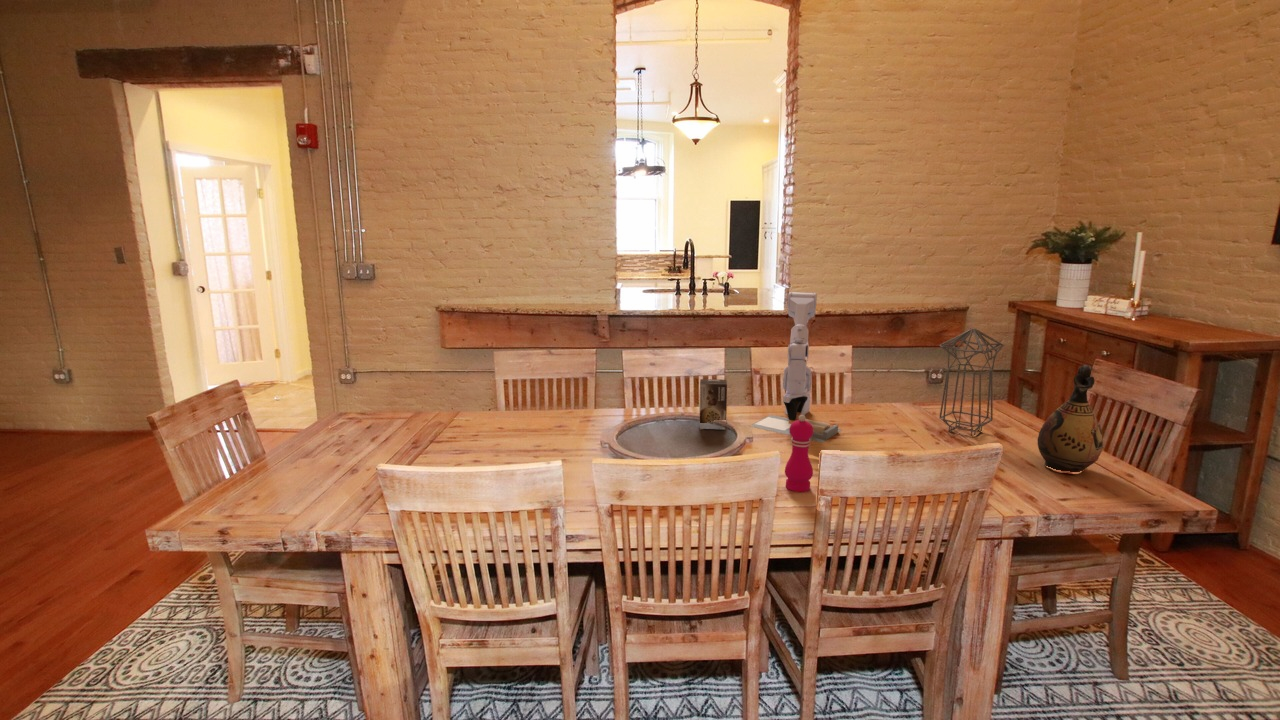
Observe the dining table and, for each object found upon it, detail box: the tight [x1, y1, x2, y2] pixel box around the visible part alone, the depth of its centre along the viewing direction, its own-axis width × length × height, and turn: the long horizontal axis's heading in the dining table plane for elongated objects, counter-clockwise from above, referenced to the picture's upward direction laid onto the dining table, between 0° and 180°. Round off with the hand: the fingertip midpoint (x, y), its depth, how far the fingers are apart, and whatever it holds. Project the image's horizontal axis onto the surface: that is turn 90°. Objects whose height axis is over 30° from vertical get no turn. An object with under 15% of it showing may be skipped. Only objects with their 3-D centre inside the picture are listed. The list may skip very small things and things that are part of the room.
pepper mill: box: [784, 415, 814, 493], centre depth 171 cm, size 7×7×20 cm
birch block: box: [788, 412, 831, 434], centre depth 215 cm, size 5×13×5 cm, turn 52°
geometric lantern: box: [939, 328, 1005, 436], centre depth 214 cm, size 16×16×35 cm
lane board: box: [749, 414, 842, 443], centre depth 218 cm, size 16×26×3 cm, turn 52°
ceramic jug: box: [1037, 364, 1104, 472], centre depth 184 cm, size 17×15×30 cm
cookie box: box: [699, 378, 728, 423], centre depth 219 cm, size 9×6×16 cm
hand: (794, 418), depth 218 cm, fingers closed on birch block, 3 cm apart
